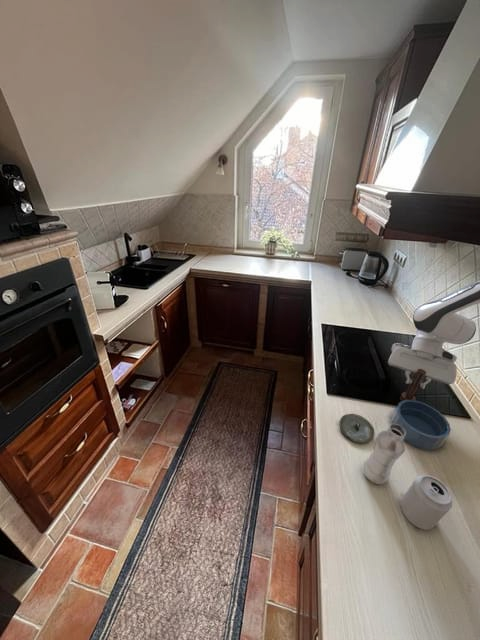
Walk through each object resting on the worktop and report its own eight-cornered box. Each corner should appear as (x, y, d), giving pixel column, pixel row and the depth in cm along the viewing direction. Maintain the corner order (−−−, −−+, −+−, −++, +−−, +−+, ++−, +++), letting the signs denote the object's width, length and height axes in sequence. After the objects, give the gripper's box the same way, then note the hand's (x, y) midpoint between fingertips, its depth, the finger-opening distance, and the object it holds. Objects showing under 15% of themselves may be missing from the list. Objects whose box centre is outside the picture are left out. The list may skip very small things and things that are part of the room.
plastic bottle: (357, 475, 72) (378, 430, 61) (367, 458, 76) (388, 414, 66) (380, 493, 68) (407, 448, 58) (389, 475, 72) (416, 430, 62)
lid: (372, 430, 86) (376, 417, 85) (373, 449, 77) (377, 436, 76) (339, 419, 90) (342, 406, 89) (336, 436, 81) (340, 422, 80)
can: (440, 523, 62) (463, 499, 56) (419, 537, 60) (441, 513, 54) (412, 492, 68) (431, 467, 62) (392, 503, 66) (409, 478, 60)
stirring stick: (410, 397, 97) (426, 367, 89) (415, 407, 93) (432, 376, 86) (397, 395, 98) (412, 366, 90) (402, 405, 94) (417, 374, 86)
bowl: (428, 415, 90) (436, 403, 87) (450, 454, 78) (460, 441, 74) (385, 409, 92) (390, 396, 89) (399, 446, 79) (407, 433, 76)
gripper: (395, 339, 95) (384, 374, 93) (462, 358, 86) (452, 397, 83) (392, 343, 100) (381, 376, 98) (455, 361, 91) (445, 398, 89)
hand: (414, 386), depth 91 cm, fingers closed on stirring stick, 3 cm apart
